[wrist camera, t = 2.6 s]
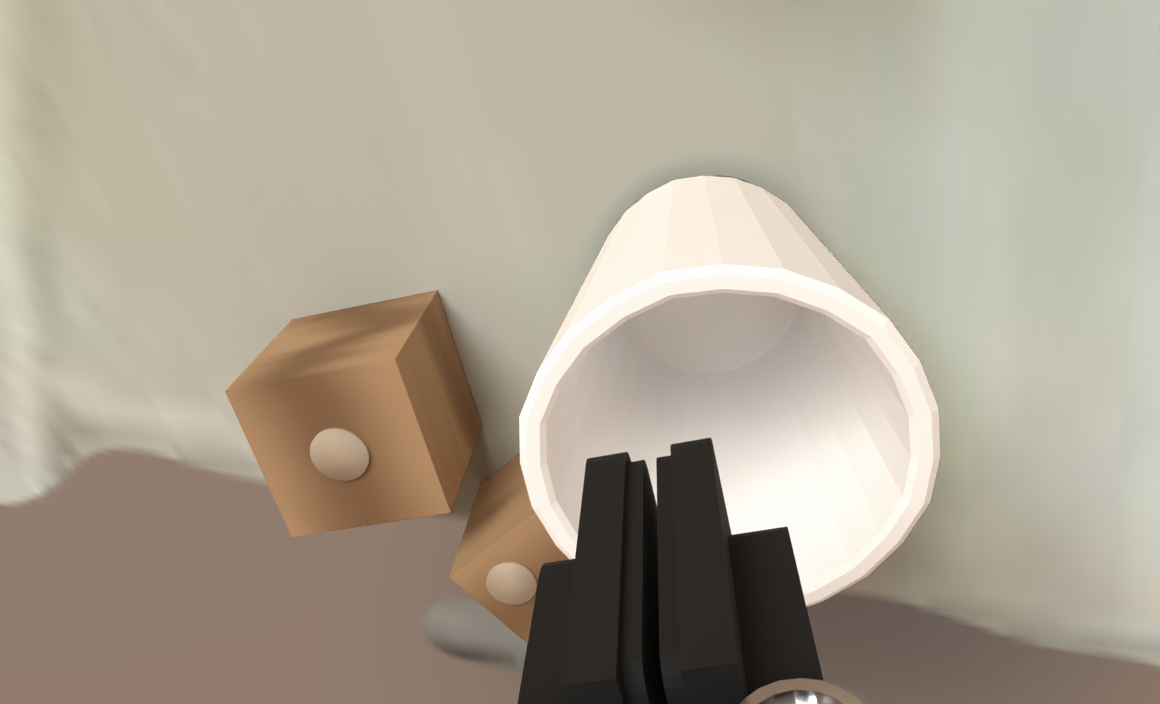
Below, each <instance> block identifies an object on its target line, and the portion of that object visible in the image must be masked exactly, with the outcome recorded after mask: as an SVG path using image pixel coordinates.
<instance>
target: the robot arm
mask: <svg viewBox="0 0 1160 704" xmlns="http://www.w3.org/2000/svg"><path fill="white" fill-rule="evenodd" d="M670 452H671V455H669V456H664V457H658V458H657V459H656V470H657V504H656V500H655V496H654V492H653V488H652V484H651V480H650V475H649V471H648V468H647V464H646V462H645V460H640V461H634V462H631V459H630V456H629V454H628V452H622V453H617V454H611V455H605V456H599V457H593V458H588V459H587V461H586V467H585V476H584V484H583V493H582V502H581V510H580V519H579V528H578V537H577V545H576V554H575V559H569V560H562V561H555V562H549V563H544V564H543V565H542V566H541V570H540V574H539V579H538V585H537V591H536V597H535V603H534V609H533V615H532V621H531V627H530V633H529V639H528V645H527V651H526V657H525V663H524V669H523V675H522V681H521V687H520V693H519V699H518V704H863V703H862V701H860V700H859V699H858V698H856V697H855V696H854V695H852V694H851V693H850V692H848V691H847V690H845V689H844V688H841V687H839V686H836V685H834V684H831V683H828V682H826V681H823V677H822V673H821V668H820V664H819V660H818V656H817V651H816V647H815V642H814V638H813V634H812V629H811V625H810V621H809V616H808V612H807V608H806V603H805V599H804V595H803V590H802V586H801V582H800V577H799V573H798V569H797V565H796V560H795V556H794V552H793V547H792V543H791V539H790V534H789V530H788V527H780V528H773V529H767V530H760V531H754V532H747V533H740V534H734V535H732V534H731V529H730V524H729V519H728V514H727V510H726V505H725V500H724V495H723V490H722V486H721V481H720V476H719V471H718V466H717V462H716V457H715V452H714V447H713V443H712V439H711V438H705V439H699V440H693V441H687V442H681V443H675V444H671V445H670Z"/></svg>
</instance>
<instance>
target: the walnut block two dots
mask: <svg viewBox="0 0 1160 704" xmlns="http://www.w3.org/2000/svg"><path fill="white" fill-rule="evenodd" d="M562 560H569V558H568V557H567V556H566V555H565V554H564V553H563V552H562V551H561V550H560V549H559V548H558V547H557V546H556V545H555V543H554V542H553V540H552V538H551V537H550V535H549V534H548V532H547V530H546V529H545V527H544V526H543V524H542V522H541V521H540V519H539V518H538V516H537V514H536V513H535V511H534V509H533V508H532V506H531V502H530V498H529V495H528V491H527V487H526V483H525V480H524V476H523V472H522V469H521V465H520V453H519V454H518V455H516V456H515V457H514V458H513V459H511V460H510V461H509V462H508V463H506V464H505V465H504V466H503V467H501V468H500V469H499V470H498V471H496V472H495V473H494V474H493V475H491V476H490V477H489V478H487V479H486V480H485V481H484V482H482V483H481V484H480V487H479V490H478V493H477V496H476V499H475V502H474V505H473V508H472V511H471V514H470V517H469V520H468V523H467V526H466V529H465V532H464V535H463V538H462V541H461V544H460V547H459V550H458V553H457V556H456V558H455V562H454V564H453V568H452V571H451V574H450V578H451V579H452V580H453V581H454V582H456V583H457V584H458V585H459V586H460V587H461V588H463V589H464V590H465V591H466V592H467V593H469V594H470V595H471V596H472V597H473V598H474V599H476V600H477V601H478V602H479V603H480V604H481V605H483V606H484V607H485V608H486V609H487V610H489V611H490V612H491V613H492V614H493V615H494V616H496V617H497V618H498V619H499V620H500V621H501V622H503V623H504V624H505V625H506V626H507V627H509V628H510V629H511V630H512V631H513V632H514V633H516V634H517V635H518V636H519V637H520V638H521V639H523V640H524V641H525V642H526V643H527V644H528V639H529V633H530V627H531V621H532V615H533V609H534V603H535V597H536V591H537V585H538V579H539V574H540V570H541V566H542V565H543V564H544V563H549V562H555V561H562Z"/></svg>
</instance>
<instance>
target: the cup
mask: <svg viewBox="0 0 1160 704" xmlns="http://www.w3.org/2000/svg"><path fill="white" fill-rule="evenodd" d="M519 433H520V465H521V469H522V472H523V476H524V480H525V483H526V487H527V491H528V495H529V498H530V502H531V506H532V508H533V509H534V511H535V513H536V514H537V516H538V518H539V519H540V521H541V522H542V524H543V526H544V527H545V529H546V530H547V532H548V534H549V535H550V537H551V538H552V540H553V542H554V543H555V545H556V546H557V547H558V548H559V549H560V550H561V551H562V552H563V553H564V554H565V555H566V556H567V557H568V558H569V559H575V554H576V545H577V537H578V528H579V519H580V510H581V502H582V493H583V484H584V476H585V467H586V461H587V459H588V458H593V457H599V456H605V455H611V454H617V453H622V452H628V454H629V456H630V459H631V462H634V461H640V460H645V462H646V464H647V468H648V471H649V475H650V480H651V484H652V488H653V492H654V496H655V500H656V504H657V470H656V459H657V458H658V457H664V456H669V455H671V452H670V445H671V444H675V443H681V442H687V441H693V440H699V439H705V438H711V439H712V443H713V447H714V452H715V457H716V462H717V466H718V471H719V476H720V481H721V486H722V490H723V495H724V500H725V505H726V510H727V514H728V519H729V524H730V529H731V534H732V535H734V534H740V533H747V532H754V531H760V530H767V529H773V528H780V527H788V530H789V534H790V539H791V543H792V547H793V552H794V556H795V560H796V565H797V569H798V573H799V577H800V582H801V586H802V590H803V595H804V599H805V603H806V607H808V606H811V605H814V604H816V603H819V602H822V601H824V600H826V599H828V598H830V597H832V596H833V595H835V594H837V593H839V592H840V591H842V590H844V589H846V588H848V587H849V586H851V585H853V584H855V583H856V582H858V581H860V580H862V579H863V578H865V577H867V576H868V575H869V574H870V573H871V572H872V571H873V570H874V569H875V568H877V567H878V566H879V565H880V564H881V563H882V562H883V561H884V560H885V559H886V558H887V557H888V556H889V555H890V554H891V553H892V552H893V551H895V550H896V549H897V548H898V547H899V546H900V545H901V544H902V543H903V542H904V540H905V539H906V537H907V536H908V534H909V533H910V531H911V530H912V528H913V527H914V526H915V524H916V523H917V521H918V520H919V518H920V517H921V515H922V514H923V512H924V511H925V510H926V508H927V507H928V505H929V504H930V501H931V496H932V492H933V487H934V483H935V478H936V474H937V470H938V465H939V461H940V437H939V412H938V406H937V404H936V401H935V399H934V396H933V394H932V391H931V388H930V386H929V383H928V381H927V378H926V376H925V373H924V371H923V368H922V366H921V363H920V361H919V360H918V358H917V357H916V355H915V354H914V353H913V351H912V350H911V349H910V347H909V346H908V345H907V343H906V342H905V340H904V339H903V338H902V336H901V335H900V334H899V332H898V331H897V330H896V328H895V327H894V325H893V324H892V323H891V321H890V320H889V319H888V318H887V316H886V315H885V314H884V313H883V312H882V311H881V310H880V308H879V307H878V306H877V305H876V304H875V303H874V302H873V301H872V299H871V298H870V297H869V296H868V295H867V294H866V293H865V292H864V290H863V289H862V288H861V287H860V286H859V285H858V284H857V283H856V281H855V280H854V279H853V278H852V277H851V276H850V275H849V273H848V272H847V271H846V270H845V269H844V268H843V267H842V266H841V264H840V263H839V262H838V261H837V260H836V259H835V258H834V257H833V255H832V254H831V253H830V252H829V251H828V250H827V249H826V248H825V246H824V245H823V244H822V243H821V242H820V241H819V240H818V238H817V237H816V236H815V235H814V234H813V233H812V232H811V231H810V229H809V228H808V227H807V226H806V225H805V224H804V223H803V222H802V220H801V219H800V218H799V217H798V216H797V215H796V214H795V212H794V211H793V210H792V209H791V208H790V207H789V206H788V205H787V204H786V203H785V202H783V201H782V200H780V199H779V198H777V197H775V196H774V195H772V194H771V193H769V192H768V191H766V190H764V189H763V188H761V187H758V186H755V185H753V184H751V183H749V182H747V181H744V180H741V179H737V178H734V177H728V176H698V177H691V178H684V179H677V180H673V181H671V182H669V183H667V184H665V185H663V186H661V187H659V188H657V189H655V190H653V191H651V192H649V193H648V194H646V195H645V196H644V197H643V198H641V199H640V200H638V201H636V202H635V203H634V204H633V205H632V206H631V207H630V208H629V209H628V210H627V211H626V212H625V213H624V214H623V216H622V217H621V218H620V219H619V221H618V222H617V224H616V226H615V227H614V229H613V230H612V231H611V233H610V234H609V236H608V238H607V240H606V242H605V243H604V245H603V247H602V249H601V251H600V253H599V255H598V257H597V259H596V261H595V263H594V264H593V266H592V268H591V270H590V272H589V274H588V276H587V278H586V280H585V282H584V284H583V286H582V287H581V289H580V291H579V293H578V295H577V297H576V299H575V301H574V303H573V305H572V307H571V309H570V310H569V312H568V314H567V316H566V318H565V320H564V322H563V324H562V326H561V328H560V330H559V332H558V333H557V335H556V337H555V339H554V341H553V343H552V345H551V347H550V349H549V351H548V353H547V355H546V356H545V358H544V360H543V362H542V364H541V366H540V368H539V370H538V372H537V374H536V377H535V379H534V382H533V384H532V387H531V389H530V392H529V394H528V396H527V399H526V401H525V404H524V406H523V409H522V411H521V414H520V416H519Z"/></svg>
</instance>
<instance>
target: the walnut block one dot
mask: <svg viewBox="0 0 1160 704" xmlns="http://www.w3.org/2000/svg"><path fill="white" fill-rule="evenodd" d="M225 392H226V394H227V396H228V398H229V401H230V403H231V405H232V407H233V409H234V412H235V414H236V416H237V418H238V420H239V423H240V425H241V427H242V429H243V431H244V433H245V436H246V438H247V440H248V442H249V444H250V447H251V449H252V451H253V453H254V455H255V458H256V460H257V462H258V464H259V466H260V468H261V471H262V473H263V475H264V477H265V479H266V482H267V484H268V486H269V488H270V490H271V493H272V495H273V497H274V499H275V501H276V503H277V506H278V508H279V510H280V512H281V514H282V516H283V519H284V521H285V523H286V525H287V528H288V529H289V532H290V534H291V536H292V537H297V536H303V535H310V534H316V533H323V532H329V531H336V530H342V529H348V528H355V527H361V526H368V525H374V524H381V523H387V522H394V521H400V520H406V519H412V518H419V517H426V516H432V515H439V514H445V513H451V510H452V508H453V505H454V502H455V499H456V497H457V494H458V491H459V488H460V485H461V483H462V480H463V477H464V474H465V472H466V469H467V466H468V463H469V461H470V458H471V455H472V452H473V450H474V447H475V444H476V441H477V439H478V436H479V433H480V430H481V428H482V424H481V421H480V418H479V415H478V412H477V409H476V405H475V402H474V399H473V396H472V393H471V390H470V387H469V384H468V381H467V378H466V375H465V372H464V369H463V366H462V363H461V360H460V357H459V354H458V351H457V348H456V345H455V342H454V339H453V336H452V333H451V330H450V327H449V323H448V320H447V317H446V314H445V311H444V308H443V305H442V302H441V299H440V296H439V293H438V290H436V291H431V292H426V293H421V294H416V295H411V296H406V297H401V298H396V299H391V300H386V301H381V302H376V303H371V304H366V305H361V306H356V307H352V308H347V309H342V310H337V311H332V312H327V313H322V314H317V315H312V316H307V317H302V318H297V319H292V321H291V322H290V323H289V324H288V325H287V326H286V327H285V328H284V329H283V330H282V331H281V332H280V333H279V334H278V335H277V337H276V338H275V339H274V340H273V341H272V342H271V343H270V344H269V345H268V346H267V347H266V348H265V349H264V350H263V352H262V353H261V354H260V355H259V356H258V357H257V358H256V359H255V360H254V361H253V362H252V363H251V364H250V365H249V366H248V368H247V369H246V370H245V371H244V372H243V373H242V374H241V375H240V376H239V377H238V378H237V379H236V380H235V381H234V382H233V384H232V385H231V386H230V387H229V388H228V389H227V390H226V391H225Z"/></svg>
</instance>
